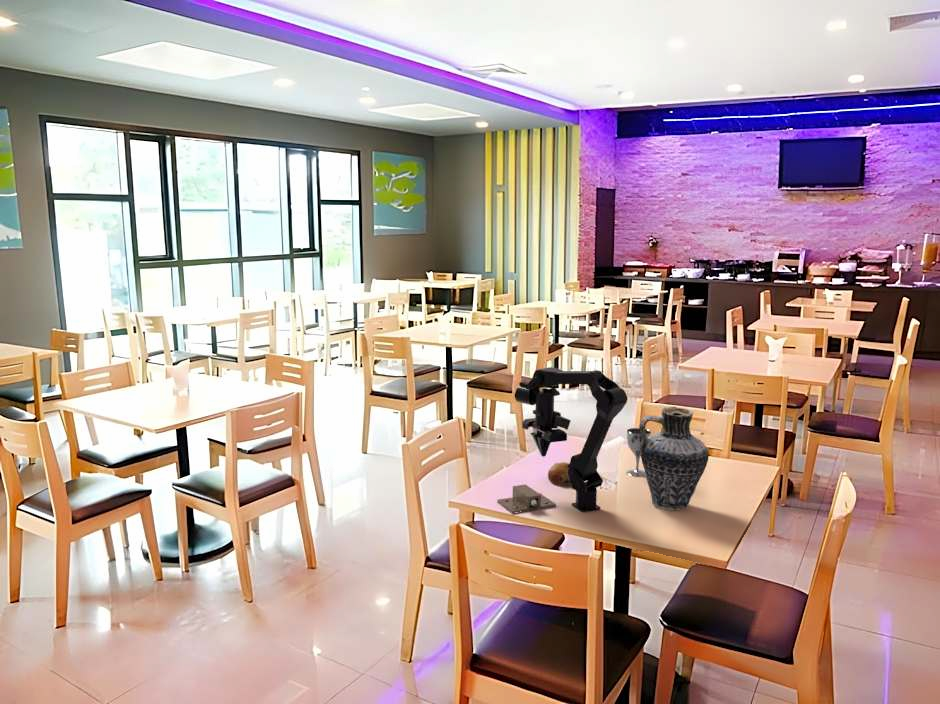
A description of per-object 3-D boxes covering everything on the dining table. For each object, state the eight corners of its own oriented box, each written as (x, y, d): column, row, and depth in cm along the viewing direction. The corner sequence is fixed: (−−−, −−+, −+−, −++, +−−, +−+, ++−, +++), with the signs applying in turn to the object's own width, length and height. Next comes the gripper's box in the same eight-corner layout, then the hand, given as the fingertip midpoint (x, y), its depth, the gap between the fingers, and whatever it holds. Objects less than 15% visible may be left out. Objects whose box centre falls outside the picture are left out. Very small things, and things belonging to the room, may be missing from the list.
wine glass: (631, 478, 255) (633, 434, 252) (621, 470, 262) (623, 428, 260) (653, 476, 256) (655, 433, 254) (642, 469, 264) (644, 427, 262)
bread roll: (577, 488, 255) (577, 464, 257) (578, 485, 245) (579, 460, 247) (547, 487, 256) (548, 463, 258) (548, 484, 246) (548, 459, 248)
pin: (539, 507, 226) (540, 497, 225) (530, 509, 225) (530, 499, 224) (521, 494, 236) (521, 485, 236) (512, 496, 235) (512, 486, 235)
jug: (685, 492, 241) (690, 400, 236) (717, 515, 222) (724, 416, 217) (624, 497, 237) (628, 403, 232) (652, 521, 218) (657, 419, 213)
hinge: (555, 506, 229) (556, 492, 228) (512, 513, 223) (512, 499, 222) (539, 495, 238) (540, 482, 237) (497, 502, 232) (497, 488, 231)
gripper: (582, 412, 230) (581, 461, 233) (552, 399, 247) (551, 445, 250) (550, 415, 226) (549, 466, 229) (522, 402, 243) (521, 449, 246)
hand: (543, 456), depth 238 cm, fingers closed
